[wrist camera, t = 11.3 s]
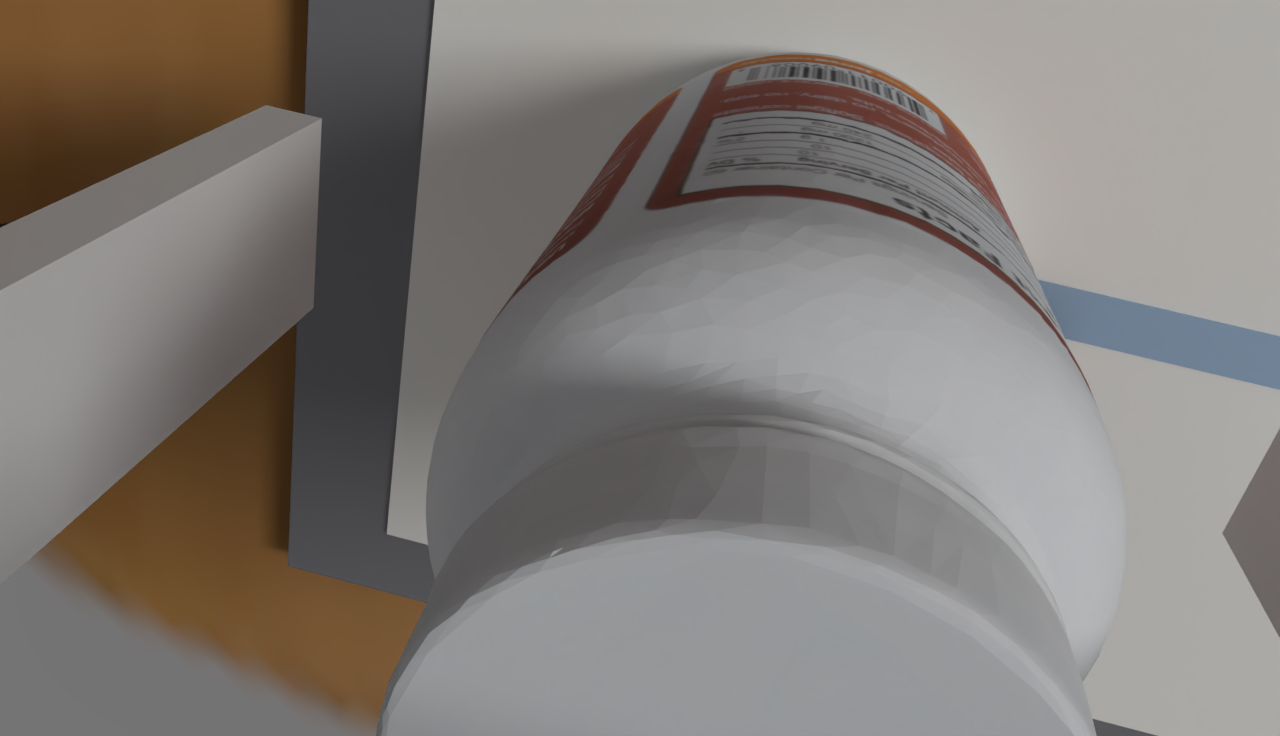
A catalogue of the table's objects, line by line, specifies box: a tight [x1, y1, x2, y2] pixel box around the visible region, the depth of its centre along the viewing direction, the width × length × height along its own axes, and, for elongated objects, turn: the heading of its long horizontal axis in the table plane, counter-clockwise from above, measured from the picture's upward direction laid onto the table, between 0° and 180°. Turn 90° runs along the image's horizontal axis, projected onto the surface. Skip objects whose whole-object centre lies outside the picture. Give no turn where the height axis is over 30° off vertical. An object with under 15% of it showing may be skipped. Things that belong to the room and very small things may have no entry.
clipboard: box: [288, 0, 1280, 736], centre depth 16 cm, size 18×30×1 cm, turn 79°
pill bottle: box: [376, 52, 1127, 736], centre depth 12 cm, size 6×6×11 cm
